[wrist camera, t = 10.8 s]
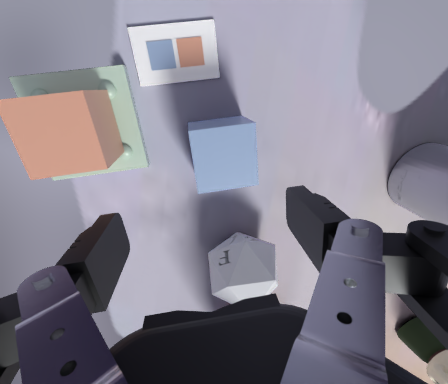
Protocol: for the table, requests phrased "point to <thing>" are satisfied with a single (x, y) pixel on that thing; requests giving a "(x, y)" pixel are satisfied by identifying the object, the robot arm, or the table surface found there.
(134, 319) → the table surface
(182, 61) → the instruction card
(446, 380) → the character mug
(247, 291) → the die
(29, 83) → the baseplate
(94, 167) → the brick terracotta
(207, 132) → the brick blue
